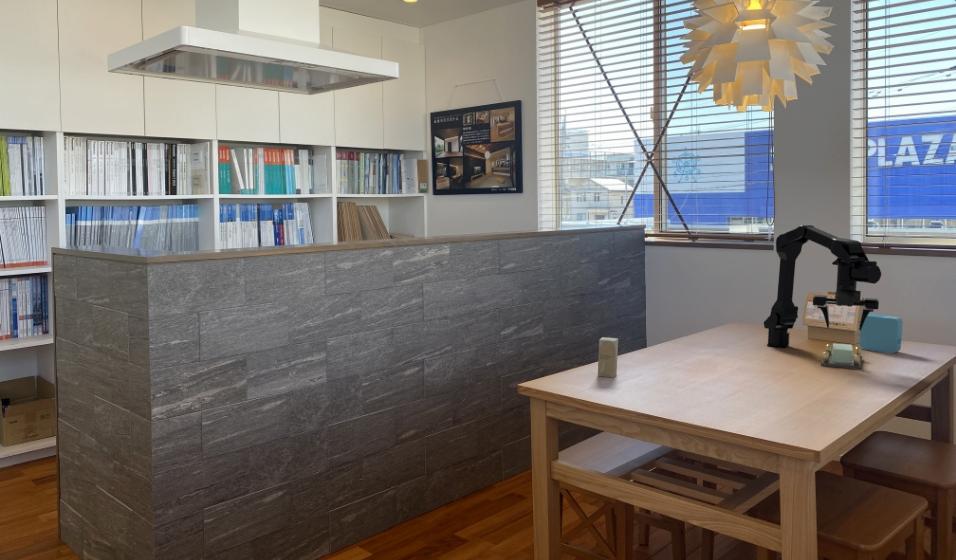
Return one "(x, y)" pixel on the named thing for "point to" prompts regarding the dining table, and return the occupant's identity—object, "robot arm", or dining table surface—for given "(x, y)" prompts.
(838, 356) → the pale green block
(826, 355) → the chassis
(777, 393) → the dining table surface
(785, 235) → the robot arm
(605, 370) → the box
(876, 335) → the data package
